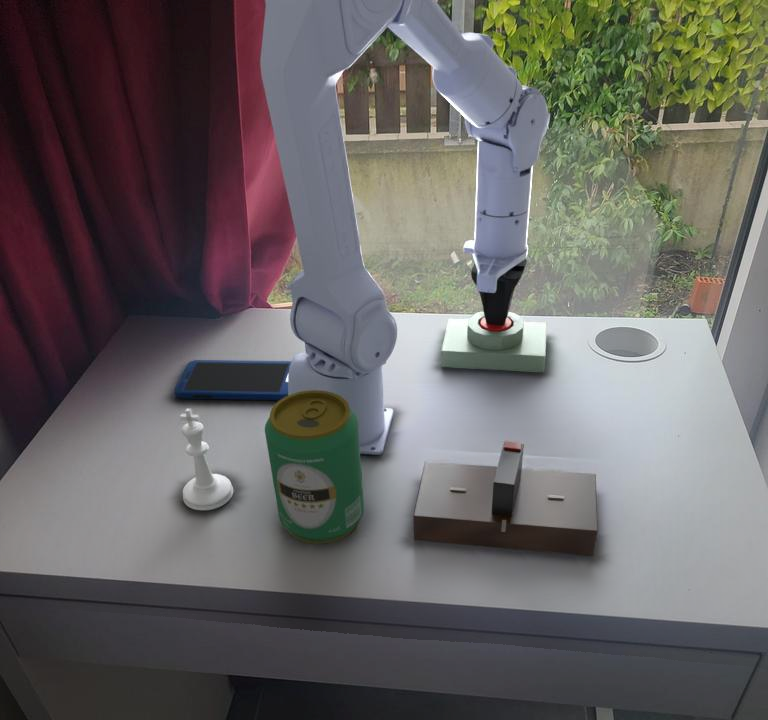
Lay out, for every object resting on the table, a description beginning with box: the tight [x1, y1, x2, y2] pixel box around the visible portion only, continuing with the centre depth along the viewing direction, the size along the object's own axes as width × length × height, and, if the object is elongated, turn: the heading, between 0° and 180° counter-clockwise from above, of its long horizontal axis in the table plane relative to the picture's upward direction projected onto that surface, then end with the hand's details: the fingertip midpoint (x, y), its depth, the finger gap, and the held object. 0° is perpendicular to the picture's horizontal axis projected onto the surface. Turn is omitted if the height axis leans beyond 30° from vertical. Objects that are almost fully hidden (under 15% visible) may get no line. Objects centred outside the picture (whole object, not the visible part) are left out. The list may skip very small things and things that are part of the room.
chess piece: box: [179, 407, 234, 511], centre depth 77 cm, size 5×5×10 cm
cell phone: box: [173, 359, 292, 401], centre depth 95 cm, size 7×14×1 cm, turn 85°
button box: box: [440, 310, 548, 373], centre depth 97 cm, size 12×8×4 cm, turn 80°
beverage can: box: [264, 390, 365, 545], centre depth 73 cm, size 8×8×12 cm
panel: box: [412, 460, 599, 557], centre depth 75 cm, size 16×10×3 cm, turn 80°
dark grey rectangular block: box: [492, 440, 525, 516], centre depth 73 cm, size 6×2×4 cm, turn 165°
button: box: [480, 317, 511, 332], centre depth 96 cm, size 4×4×2 cm
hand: (496, 322), depth 96 cm, fingers closed, pressing on button
